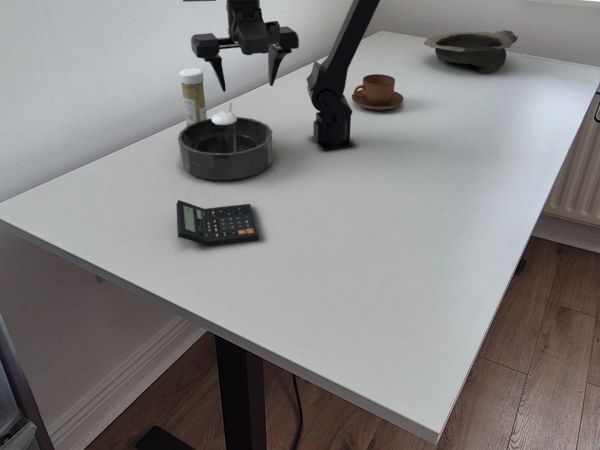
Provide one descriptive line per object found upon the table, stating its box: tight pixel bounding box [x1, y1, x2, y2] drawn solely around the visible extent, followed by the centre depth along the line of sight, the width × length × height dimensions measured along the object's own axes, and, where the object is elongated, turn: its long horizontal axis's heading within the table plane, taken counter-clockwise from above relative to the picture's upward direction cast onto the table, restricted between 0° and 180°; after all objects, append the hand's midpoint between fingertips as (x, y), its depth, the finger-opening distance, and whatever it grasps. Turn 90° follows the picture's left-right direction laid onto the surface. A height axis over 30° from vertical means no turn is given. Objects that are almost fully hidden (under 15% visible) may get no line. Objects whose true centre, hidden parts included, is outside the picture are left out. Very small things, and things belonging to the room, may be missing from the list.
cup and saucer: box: [351, 73, 404, 111], centre depth 127 cm, size 12×12×6 cm
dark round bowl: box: [177, 116, 274, 181], centre depth 103 cm, size 17×17×6 cm
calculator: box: [175, 199, 260, 247], centre depth 84 cm, size 9×12×3 cm
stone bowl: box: [422, 29, 519, 74], centre depth 153 cm, size 25×25×9 cm
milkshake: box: [211, 102, 238, 153], centre depth 101 cm, size 4×5×10 cm
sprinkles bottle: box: [179, 68, 208, 127], centre depth 111 cm, size 5×5×14 cm
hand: (247, 88), depth 103 cm, fingers open, 9 cm apart
